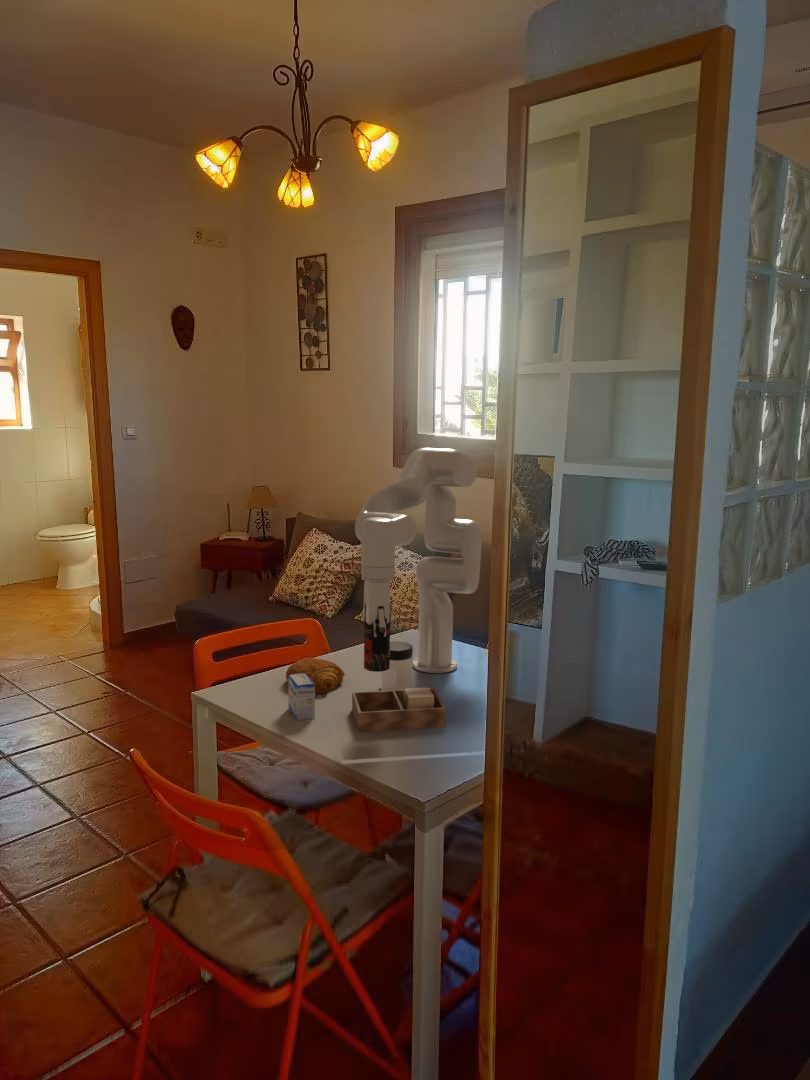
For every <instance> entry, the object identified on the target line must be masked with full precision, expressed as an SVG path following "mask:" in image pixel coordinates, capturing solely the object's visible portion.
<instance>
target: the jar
mask: <svg viewBox="0 0 810 1080" xmlns="http://www.w3.org/2000/svg"><path fill="white" fill-rule="evenodd" d="M413 650H414V648H413V645H412V644H411V643H409V642H405V641H390V668H389V669H388V670H386V671H381V672H380V691H388V690H404V689H407V688H413V653H414V651H413Z"/></svg>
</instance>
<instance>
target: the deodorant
mask: <svg viewBox="0 0 810 1080" xmlns="http://www.w3.org/2000/svg"><path fill="white" fill-rule="evenodd" d="M363 606H364V615H363V619H364V623H363V624H364V625H363V627H364V628H363V632H364V633H363V634H364V635H363V645H364V646H363V668H364V670H366V671H369V672H373V673H374V672H376V673H377V672H379V673H381V671H386V670H388V669H389V668H390V642H391V616H390V617H389V623H388V624H386V636H387V647H386V654H373V653H372V637H373V636H374V634H373V623H371V625H369V624H368V623H367V622H366V605H365V604H364V603H363ZM391 606H392V605H391V603H390V611H391V608H392V607H391ZM377 614H378V612H377ZM386 620H387V619H386ZM375 623H379V621H378V620H377V621H375ZM377 628H379V627H378V626H376V629H377Z"/></svg>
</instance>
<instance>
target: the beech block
mask: <svg viewBox="0 0 810 1080" xmlns="http://www.w3.org/2000/svg"><path fill="white" fill-rule="evenodd" d="M429 688H430V687H429V686H428V687H412V688H407V689H404V710H405V709H423V708H434V695H433V694H432V692H431V690H430V689H429Z"/></svg>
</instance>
